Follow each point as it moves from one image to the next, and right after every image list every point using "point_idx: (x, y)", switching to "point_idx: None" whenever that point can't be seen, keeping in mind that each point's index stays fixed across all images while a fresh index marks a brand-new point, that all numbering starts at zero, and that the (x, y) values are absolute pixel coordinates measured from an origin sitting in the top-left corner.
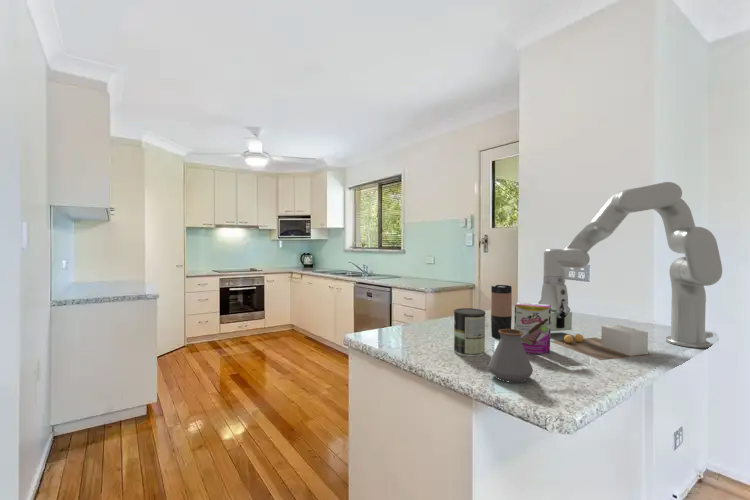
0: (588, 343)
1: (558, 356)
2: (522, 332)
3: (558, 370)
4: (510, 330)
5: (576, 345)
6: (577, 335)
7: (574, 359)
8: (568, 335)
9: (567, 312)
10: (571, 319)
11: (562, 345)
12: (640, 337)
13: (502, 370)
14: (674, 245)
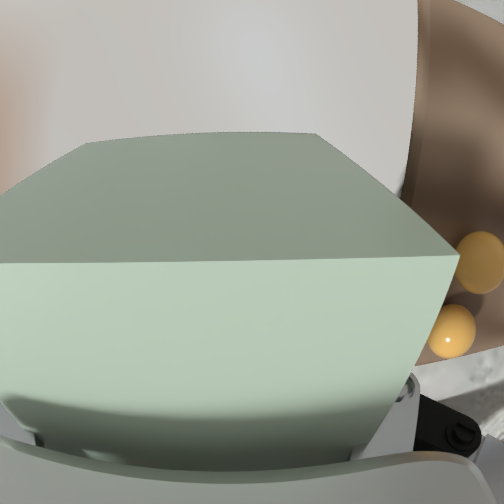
0: (501, 208)
1: (460, 393)
2: None
3: (488, 417)
4: None
5: (478, 301)
6: (490, 291)
7: (499, 366)
8: (464, 352)
9: (488, 450)
10: (365, 177)
11: (438, 358)
12: None
13: None
14: None
